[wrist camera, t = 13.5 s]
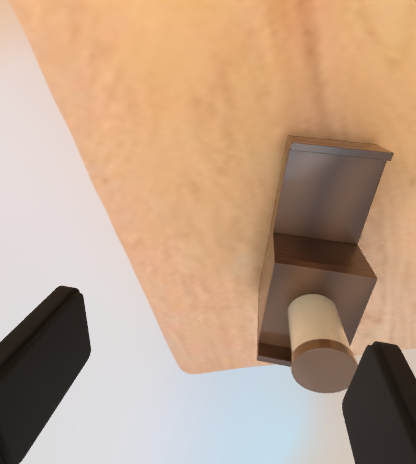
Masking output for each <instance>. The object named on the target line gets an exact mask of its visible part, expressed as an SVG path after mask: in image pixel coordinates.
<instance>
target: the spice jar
mask: <svg viewBox="0 0 416 464" xmlns="http://www.w3.org/2000/svg"><path fill="white" fill-rule="evenodd" d="M287 316H288V326H289V336H290V345H291V371H292V375H293V377H294V379H295V380H296V382H297V383H298V384H300V385H301V386H302V387H304V388H306V389H308V390H311V391H314V392H318V393H335V392H339V391H342V390H345V389H347V388H348V387H349V385H350V383H351V381H352V378H353V376H354V374H355V371H356V369H357V367H358V364H357V361H356V358H355V356H354V354H353V352H352V351H351V349H350V346H349V343H348V340H347V337H346V334H345V331H344V328H343V325H342V322H341V319H340V316H339V313H338V310H337V307H336V305H335V304H334V302H333V301H331V300H330V299H329V298H327V297H325V296H322V295H319V294H306V295H302V296H300V297H298V298H296V299H295V300H293V301H292V302H291V304H290V305H289V307H288V311H287Z"/></svg>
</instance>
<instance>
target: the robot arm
mask: <svg viewBox="0 0 416 464" xmlns="http://www.w3.org/2000/svg"><path fill="white" fill-rule="evenodd" d="M90 352H91V346H90V340H89V332H88V325H87V319H86V312H85V305H84V298H83V295H82V294H81V293H80V292H79V290H78V289H77V288H72V287H66V286H59V287H57V288H56V289H55V290H54V291H53V292H52V293H51V294H50V295H49V296H48V297H47V298H46V299H45V300H44V301H43V302H42V303H41V304H39V305H38V306H37V307H36V308H35V309H34V310H33V311H32V312H31V313H30V314H29V315H28V316H27V317H26V318H25V319H24V320H23V321H22V322H21V323H20V324H19V325H18V326H17V327H16V328H15V329H14V330H13V331H11V332H10V333H9V334H8V335H7V336H6V337H5V338H4V339H3V340H2V341H1V342H0V464H19V463H20V462H21V461H22V459H23V458H24V457H25V455H26V454H27V452H28V451H29V449H30V448H31V446H32V445H33V443H34V442H35V440H36V438H37V437H38V435H39V434H40V432H41V431H42V429H43V428H44V426H45V425H46V423H47V422H48V420H49V419H50V417H51V415H52V414H53V412H54V411H55V409H56V408H57V406H58V405H59V403H60V402H61V400H62V399H63V397H64V395H65V394H66V392H67V391H68V389H69V388H70V386H71V385H72V383H73V382H74V380H75V379H76V377H77V375H78V374H79V372H80V371H81V369H82V368H83V366H84V365H85V363H86V362H87V360H88V358H89V356H90ZM342 409H343V415H344V418H345V423H346V427H347V431H348V435H349V440H350V444H351V448H352V452H353V456H354V460H355V464H416V378H415V376H414V374H413V373H412V371H411V369H410V367H409V365H408V363H407V361H406V359H405V357H404V355H403V353H402V352H401V350H400V348H399V347H398V346H397V345H394V344H389V343H383V342H377V341H375V342H374V343H373V344H372V345H368V346H367V347H366V349H365V351H364V353H363V356H362V358H361V360H360V363H359V365H358V367H357V369H356V371H355V374H354V376H353V378H352V381H351V383H350V385H349V387H348V390H347V392H346V394H345V397H344V399H343V403H342Z"/></svg>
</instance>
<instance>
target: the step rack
mask: <svg viewBox="0 0 416 464" xmlns="http://www.w3.org/2000/svg"><path fill="white" fill-rule="evenodd" d="M392 156H393V153H392V152H390V151H388V150H386V149H384V148H382V147H380V146H378V145H376V144H366V143H356V142H347V141H337V140H327V139H317V138H307V137H297V136H288V139H287V144H286V149H285V154H284V160H283V165H282V170H281V176H280V181H279V186H278V191H277V197H276V202H275V207H274V212H273V218H272V223H271V229H270V234H269V239H268V244H267V250H266V255H265V260H264V265H263V271H262V276H261V281H260V287H259V297H258V334H257V360H258V361H263V362H268V363H274V364H279V365H285V366H289V367H291V345H290V336H289V326H288V316H287V311H288V307H289V305H290V304H291V302H292V301H293V300H295V299H296V298H298V297H300V296H302V295H306V294H319V295H322V296H325V297H327V298H329V299H330V300H331V301H333V302H334V304H335V305H336V307H337V310H338V313H339V316H340V319H341V322H342V325H343V328H344V331H345V334H346V337H347V340H348V343H349V346H350V345H351V342H352V340H353V337H354V335H355V332H356V330H357V328H358V325H359V323H360V320H361V318H362V315H363V313H364V310H365V308H366V305H367V303H368V300H369V298H370V295H371V293H372V291H373V288H374V286H375V283H376V281H377V277H376V275H375V274H374V272H373V270H372V269H371V267H370V265H369V263H368V262H367V260H366V258H365V257H364V255H363V253H362V252H361V250H360V248H359V247H358V245H357V244H358V241H359V238H360V236H361V233H362V230H363V227H364V224H365V221H366V218H367V215H368V212H369V210H370V207H371V204H372V201H373V198H374V195H375V192H376V189H377V186H378V184H379V181H380V178H381V175H382V172H383V169H384V166H385V163H386V161H391V159H392Z"/></svg>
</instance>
